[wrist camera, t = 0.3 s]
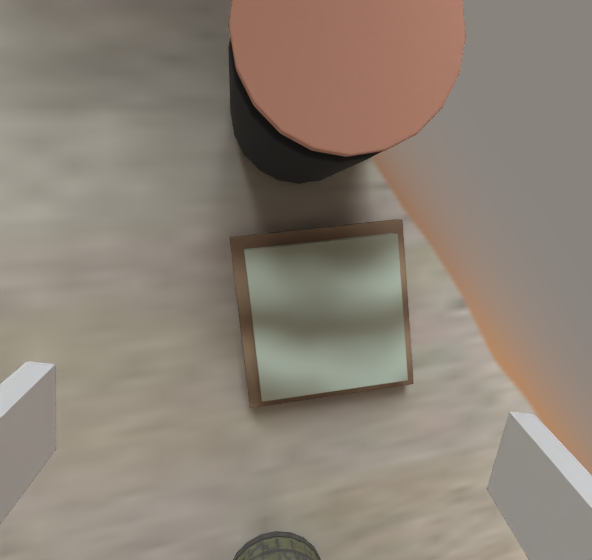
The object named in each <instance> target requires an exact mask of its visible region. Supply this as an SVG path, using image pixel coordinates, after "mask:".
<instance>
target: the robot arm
mask: <svg viewBox="0 0 592 560" xmlns="http://www.w3.org/2000/svg"><path fill="white" fill-rule="evenodd" d="M55 450H56V366H55V364H50V363H40V362H31V361H27V362H26V363H24V364H23V365H22V366H21V367H20V368H19V369H17V370H16V371H15V372H14V373H13V374H12V375H10V376H9V377H8V378H7V379H6V380H5V381H3V382H2V383H1V384H0V524H1V523H2V522H3V520H4V519H5V518H6V516H7V515H8V513H9V512H10V511H11V509H12V508H13V507H14V505H15V504H16V503H17V501H18V500H19V499H20V497H21V496H22V494H23V493H24V492H25V490H26V489H27V488H28V486H29V485H30V484H31V482H32V481H33V480H34V478H35V477H36V476H37V474H38V473H39V471H40V470H41V469H42V467H43V466H44V465H45V463H46V462H47V461H48V459H49V458H50V457H51V455H52V454H53V452H54V451H55ZM487 490H488V492H489V494H490V495H491V497H492V499H493V500H494V502H495V504H496V506H497V507H498V509H499V511H500V512H501V514H502V516H503V517H504V519H505V521H506V522H507V524H508V526H509V527H510V529H511V531H512V532H513V534H514V536H515V537H516V539H517V541H518V542H519V544H520V546H521V547H522V549H523V551H524V552H525V554H526V556H527V557H528V559H529V560H592V476H591V474H590V473H588V471H587V470H586V469H585V468H584V467H583V466H582V465H581V464H580V463H579V462H578V461H577V460H576V458H575V457H574V456H573V455H572V454H571V453H570V452H569V451H568V450H567V449H566V448H565V447H564V446H563V445H562V444H561V442H560V441H559V440H558V439H557V438H556V437H555V436H554V435H553V434H552V433H551V432H550V431H549V430H548V429H547V428H546V426H545V425H544V424H543V423H542V422H541V421H540V420H539V419H538V418H537V417H536V416H535V415H534V414H528V413H518V412H509V414H508V418H507V421H506V424H505V428H504V431H503V435H502V438H501V442H500V445H499V449H498V452H497V455H496V459H495V462H494V466H493V469H492V473H491V476H490V480H489V483H488V486H487Z"/></svg>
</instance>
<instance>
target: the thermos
mask: <svg viewBox="0 0 592 560" xmlns="http://www.w3.org/2000/svg"><path fill="white" fill-rule="evenodd" d="M233 560H320V557H319V555H318V553H317V552H316V550H315V548H314V546H312V545H311V544H310V543H309V542H308V541H307V540H306V539H304V538H303V537H300V536H298V535H295V534H293V533H290V532H271V533H267V534H263V535H260V536H258V537H256V538H254V539H252V540H251V541H249V542H247V543H246V544H245V545H244V546H243V547H242V548H241V549H240V550H239V551H238V552H237V554H236V556H235V557H234V559H233Z"/></svg>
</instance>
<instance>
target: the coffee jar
mask: <svg viewBox="0 0 592 560" xmlns="http://www.w3.org/2000/svg"><path fill="white" fill-rule="evenodd" d="M228 26H229V32H230V42H229V75H230V109H231V118H232V124H233V129H234V135H235V137H236V139H237V141H238V143H239V145H240V147H241V148H242V150H243V152H244V154H245V155H246V156H247V157H248V158H249V160H250V161H251V162H252V163H253V164H254V165H255V166H256V167H257V168H258V169H259V170H261V171H263V172H264V173H266V174H268V175H270V176H272V177H274V178H276V179H278V180H281V181H287V182H293V183H299V184H300V183H306V182H313V181H319V180H322V179H324V178H326V177H328V176H331V175H333V174H335V173H337V172H340V171H342V170H344V169H346V168H348V167H351V166H353V165H355V164H357V163H360V162H362V161H364V160H366V159H368V158H370V157H372V156H374V155H376V154H378V153H380V152H382V151H385V150H387V149H389V148H391V147H393V146H395V145H397V144H399V143H400V142H402V141H404V140H406V139H408V138H410V137H412V136H414V135H416V134H417V133H418V132H419V131H420V130H421V129H422V128H423V127H424V126H425V125H426V124H427V123H428V122H429V121H430V120H431V119H432V118H433V117H434V115H436V114H437V112H439V111H440V109H441V108H442V107H443V105H444V103H445V101H446V99H447V97H448V95H449V93H450V91H451V89H452V87H453V85H454V83H455V81H456V79H457V77H458V75H459V72H460V66H461V61H462V55H463V50H464V44H465V39H466V31H465V21H464V11H463V1H462V0H232V2H231V10H230V18H229V25H228Z"/></svg>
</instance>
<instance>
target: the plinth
mask: <svg viewBox="0 0 592 560" xmlns="http://www.w3.org/2000/svg"><path fill="white" fill-rule="evenodd" d="M230 244H231V252H232V260H233V269H234V277H235V285H236V294H237V302H238V310H239V319H240V327H241V335H242V344H243V352H244V360H245V369H246V377H247V385H248V394H249V402H250V408H254V407H260V406H267V405H274V404H281V403H287V402H294V401H301V400H308V399H314V398H321V397H328V396H335V395H341V394H348V393H355V392H362V391H368V390H375V389H382V388H389V387H395V386H402V385H409V384H413V369H412V354H411V340H410V325H409V310H408V295H407V281H406V266H405V251H404V237H403V222H402V220H386V221H377V222H367V223H358V224H348V225H339V226H329V227H320V228H310V229H301V230H291V231H282V232H273V233H263V234H254V235H244V236H235V237H230Z"/></svg>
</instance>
